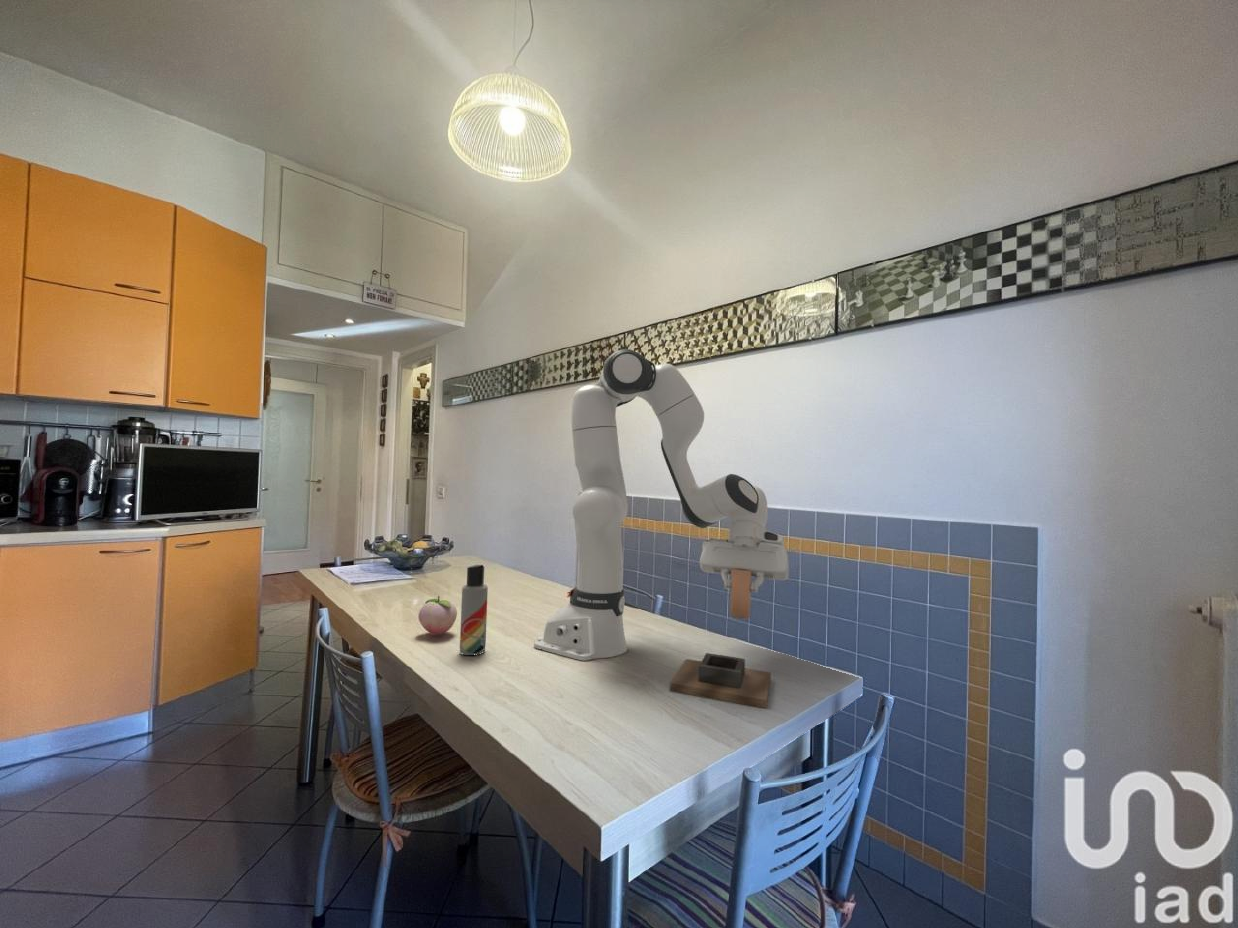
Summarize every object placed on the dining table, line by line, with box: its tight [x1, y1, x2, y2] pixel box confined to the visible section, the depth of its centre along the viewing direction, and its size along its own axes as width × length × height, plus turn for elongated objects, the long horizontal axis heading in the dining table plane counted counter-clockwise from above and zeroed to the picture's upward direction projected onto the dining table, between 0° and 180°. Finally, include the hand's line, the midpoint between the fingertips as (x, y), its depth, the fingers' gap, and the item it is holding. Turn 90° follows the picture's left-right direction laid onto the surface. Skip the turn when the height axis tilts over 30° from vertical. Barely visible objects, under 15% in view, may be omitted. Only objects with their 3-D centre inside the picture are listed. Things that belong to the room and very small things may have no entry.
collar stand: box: [669, 652, 772, 709], centre depth 98 cm, size 18×14×4 cm
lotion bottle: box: [459, 564, 489, 656], centre depth 113 cm, size 6×6×20 cm
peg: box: [729, 569, 752, 619], centre depth 110 cm, size 4×4×10 cm
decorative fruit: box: [417, 595, 458, 636], centre depth 123 cm, size 9×8×10 cm
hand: (740, 589), depth 110 cm, fingers closed on peg, 4 cm apart
